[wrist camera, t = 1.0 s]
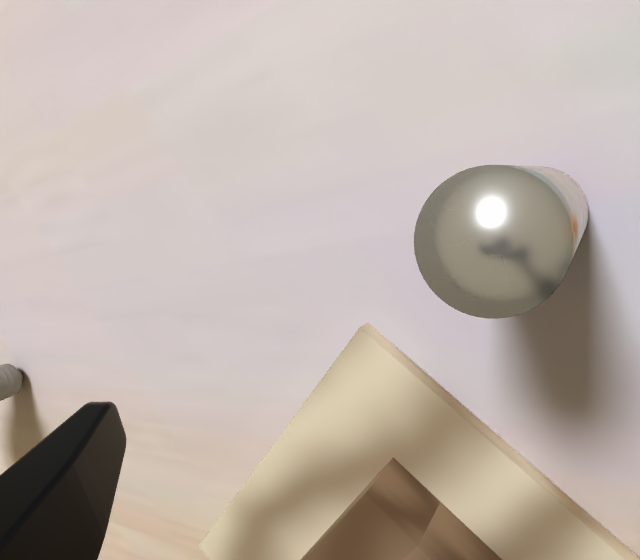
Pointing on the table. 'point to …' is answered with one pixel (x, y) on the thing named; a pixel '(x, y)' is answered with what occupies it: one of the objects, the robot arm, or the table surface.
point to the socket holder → (398, 479)
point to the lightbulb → (9, 381)
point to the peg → (499, 237)
